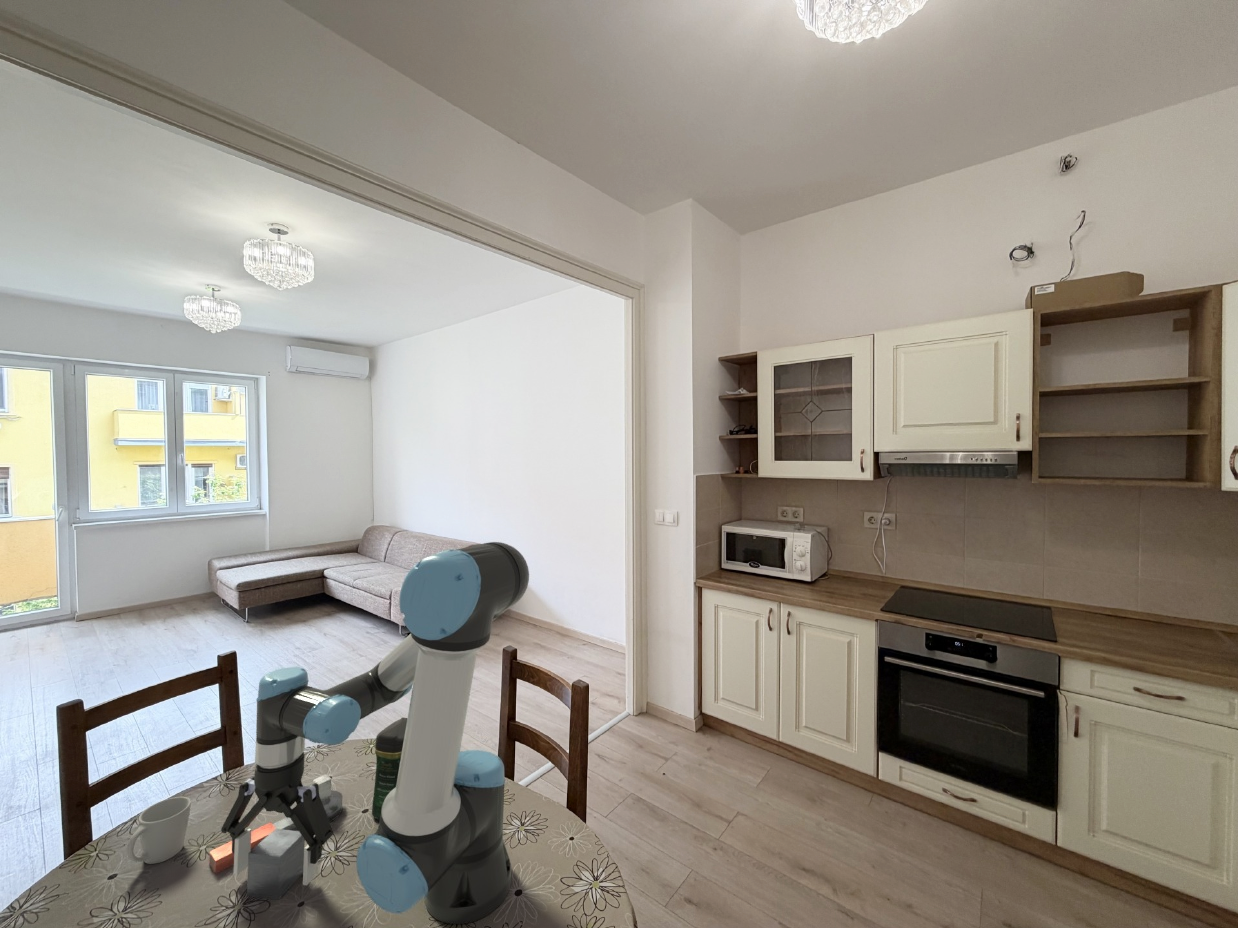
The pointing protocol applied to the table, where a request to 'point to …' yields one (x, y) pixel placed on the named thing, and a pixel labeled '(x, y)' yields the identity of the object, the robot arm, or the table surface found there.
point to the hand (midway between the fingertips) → (275, 874)
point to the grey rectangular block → (275, 864)
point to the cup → (161, 830)
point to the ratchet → (278, 825)
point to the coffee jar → (387, 762)
